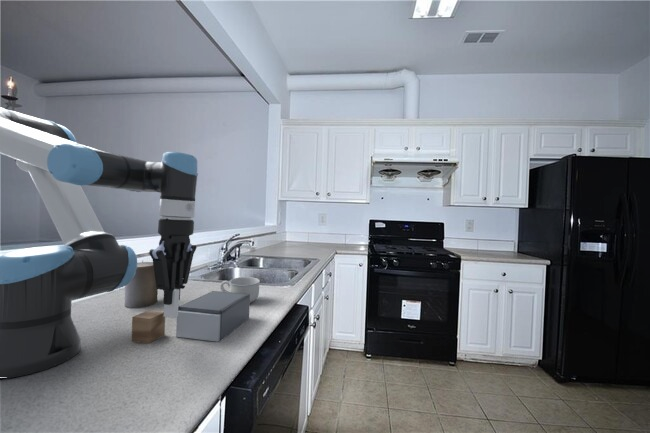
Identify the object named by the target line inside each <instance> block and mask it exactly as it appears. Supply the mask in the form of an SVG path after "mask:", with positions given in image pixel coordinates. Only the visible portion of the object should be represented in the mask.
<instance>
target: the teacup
mask: <svg viewBox="0 0 650 433" xmlns="http://www.w3.org/2000/svg"><path fill="white" fill-rule="evenodd" d="M260 282H261V281H260V278H257V277H252V276H251V277H250V276H242V277H234V278H232V279H230V280H223V281H222V282H221V283H220V291H221V292H233V293H245V294H250V304H251V303H253V302H254V301H255V300H257V299H258V297H259V294H260ZM225 284H226V285H227V286H228V288H229V290H226V289H225V288H224V285H225Z"/></svg>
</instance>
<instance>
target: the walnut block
mask: <svg viewBox="0 0 650 433" xmlns="http://www.w3.org/2000/svg"><path fill="white" fill-rule="evenodd" d="M131 318H132V319H131V342H136V343H144V344H151V343H152V342H154V341H157V340H158V339H160V338H162V337H164V336H165V334H166V332H165V330H166V329H165V328H166V317H164V311H162V310H161V311H160V310H159V311H157V310H149V309H148V310H147V311H146V310H145V311H143V312H141V313H139V314H135V315H133V316H132V317H131Z"/></svg>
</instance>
